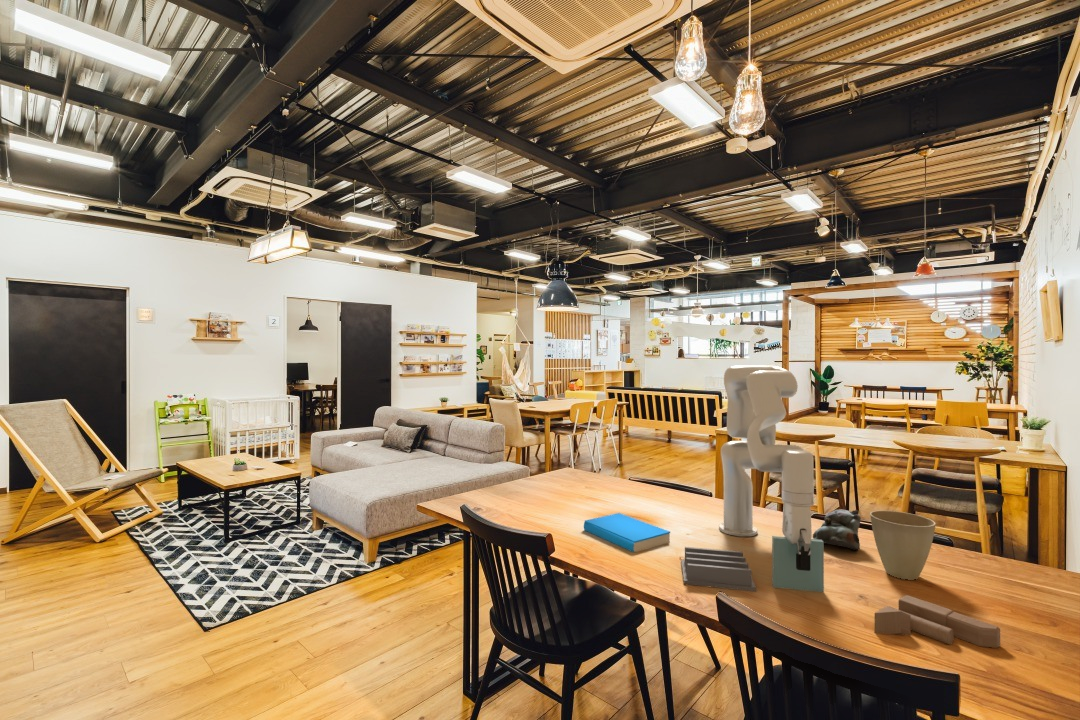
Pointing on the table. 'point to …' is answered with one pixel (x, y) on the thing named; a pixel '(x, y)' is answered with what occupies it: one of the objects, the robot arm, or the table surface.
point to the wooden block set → (935, 623)
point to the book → (627, 532)
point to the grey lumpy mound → (840, 529)
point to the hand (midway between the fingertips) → (797, 562)
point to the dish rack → (717, 569)
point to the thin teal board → (786, 566)
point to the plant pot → (902, 542)
